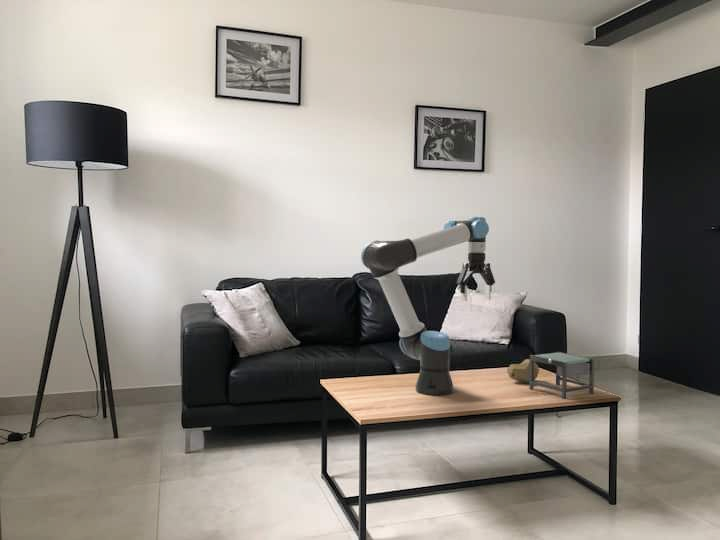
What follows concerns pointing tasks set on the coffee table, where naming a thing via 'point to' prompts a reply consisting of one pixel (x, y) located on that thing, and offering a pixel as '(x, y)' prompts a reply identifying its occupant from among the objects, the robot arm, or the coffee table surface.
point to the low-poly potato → (522, 371)
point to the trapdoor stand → (564, 376)
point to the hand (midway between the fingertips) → (475, 300)
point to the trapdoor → (569, 363)
